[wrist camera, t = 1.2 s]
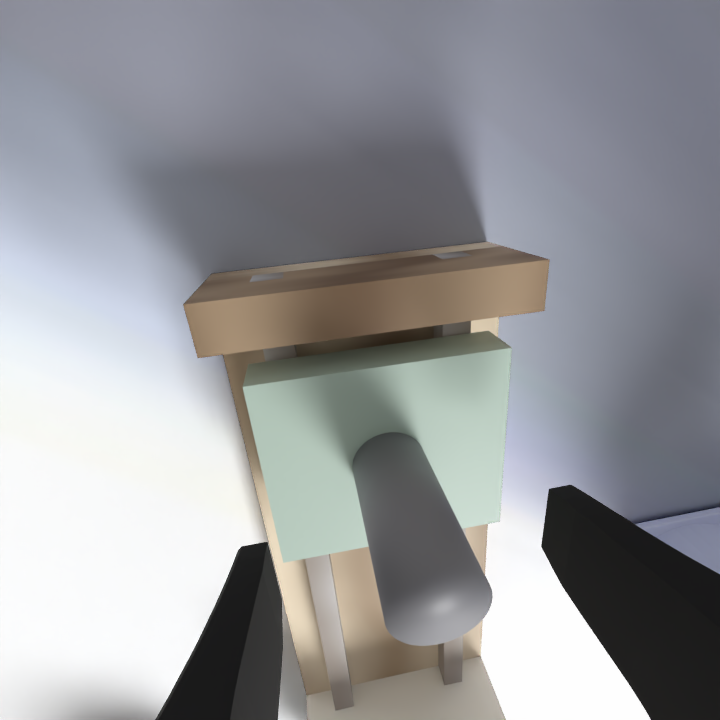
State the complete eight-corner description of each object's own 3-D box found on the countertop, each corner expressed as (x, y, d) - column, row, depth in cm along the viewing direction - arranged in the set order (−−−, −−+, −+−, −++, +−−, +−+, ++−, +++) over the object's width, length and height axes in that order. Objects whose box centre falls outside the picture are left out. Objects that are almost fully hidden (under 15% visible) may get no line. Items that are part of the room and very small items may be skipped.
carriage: (488, 330, 14) (641, 443, 8) (481, 491, 17) (589, 666, 11) (247, 364, 13) (209, 520, 7) (284, 527, 16) (278, 739, 10)
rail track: (487, 241, 15) (549, 259, 11) (472, 635, 24) (503, 714, 21) (211, 273, 14) (182, 304, 10) (305, 671, 23) (308, 761, 20)
